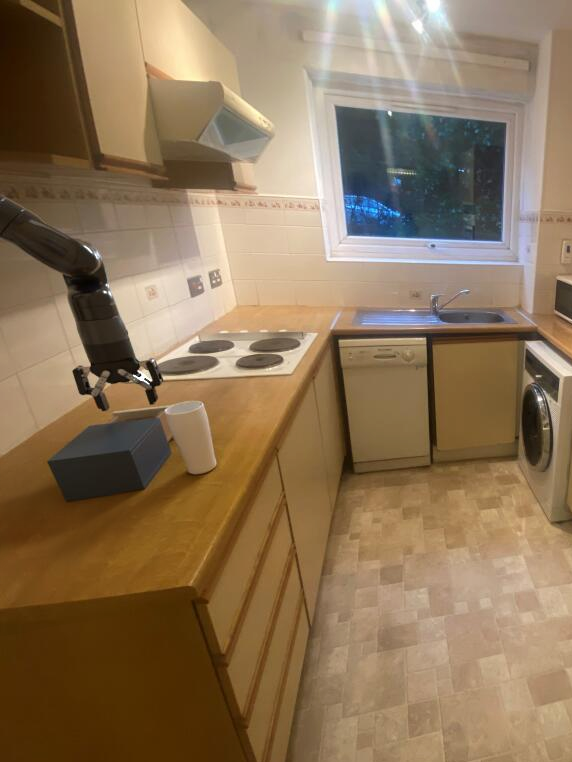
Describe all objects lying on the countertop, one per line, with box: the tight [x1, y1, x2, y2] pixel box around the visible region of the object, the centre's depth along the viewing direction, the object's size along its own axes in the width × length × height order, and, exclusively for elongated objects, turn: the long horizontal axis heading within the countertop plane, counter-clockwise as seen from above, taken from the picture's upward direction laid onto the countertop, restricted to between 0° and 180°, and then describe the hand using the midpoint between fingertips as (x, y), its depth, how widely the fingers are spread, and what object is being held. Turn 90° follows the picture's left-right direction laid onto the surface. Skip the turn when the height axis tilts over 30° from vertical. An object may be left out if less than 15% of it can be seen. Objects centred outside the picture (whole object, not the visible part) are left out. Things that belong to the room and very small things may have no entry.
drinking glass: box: [164, 400, 218, 475], centre depth 92 cm, size 7×7×15 cm
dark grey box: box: [46, 418, 172, 503], centre depth 91 cm, size 15×13×9 cm
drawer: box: [105, 404, 173, 443], centre depth 101 cm, size 18×12×7 cm, turn 19°
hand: (130, 406), depth 98 cm, fingers open, 8 cm apart
